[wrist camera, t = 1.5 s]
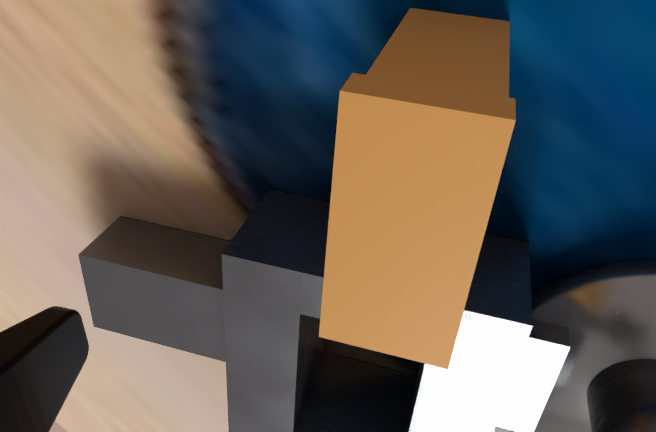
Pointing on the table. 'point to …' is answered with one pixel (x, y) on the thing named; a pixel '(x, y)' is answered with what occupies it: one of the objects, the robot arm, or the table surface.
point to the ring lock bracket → (367, 379)
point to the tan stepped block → (416, 184)
